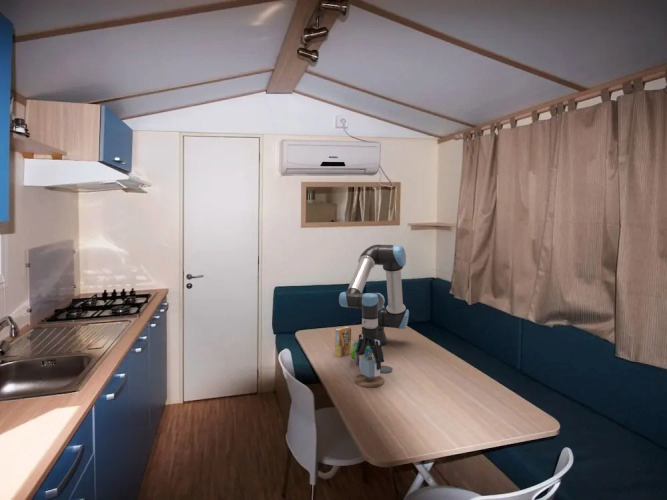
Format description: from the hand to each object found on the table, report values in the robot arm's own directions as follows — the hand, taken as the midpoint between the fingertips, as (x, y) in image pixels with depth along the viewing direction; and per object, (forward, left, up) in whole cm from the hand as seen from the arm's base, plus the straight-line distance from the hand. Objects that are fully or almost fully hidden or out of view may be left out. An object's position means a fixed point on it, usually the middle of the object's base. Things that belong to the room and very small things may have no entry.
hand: (369, 371), depth 190 cm
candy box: (-37, +11, -5) cm, 39 cm away
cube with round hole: (0, 0, -1) cm, 1 cm away
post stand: (0, 0, -5) cm, 5 cm away
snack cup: (-21, +13, -5) cm, 25 cm away
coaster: (-7, +15, -5) cm, 17 cm away
